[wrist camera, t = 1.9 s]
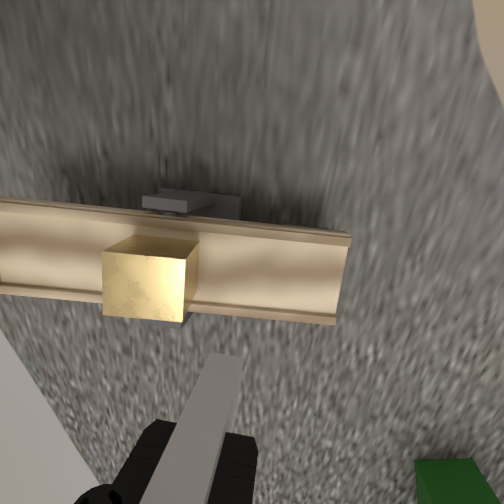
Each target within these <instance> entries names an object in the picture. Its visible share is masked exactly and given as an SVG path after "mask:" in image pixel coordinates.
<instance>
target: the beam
mask: <svg viewBox="0 0 504 504" xmlns="http://www.w3.org/2000/svg"><path fill="white" fill-rule="evenodd" d="M178 213H179V212H175V211H167V210H165V211H163V213H161V212H152V211H142V210H132V209H123V208H113V207H103V206H94V205H84V204H74V203H65V202H55V201H45V200H36V199H26V198H16V197H7V196H0V294H10V295H21V296H31V297H42V298H52V299H63V300H73V301H84V302H94V303H103V296H102V256H101V251H103V250H105V249H107V248H109V247H110V246H112V245H114V244H116V243H118V242H120V241H122V240H124V239H126V238H128V237H130V236H131V235H133V234H134V235H144V236H154V237H164V238H173V239H183V240H193V241H200V243H199V259H198V276H197V292H196V294H195V296H194V298H193V301H192V303H191V305H190V307H189V309H188V311H189V312H200V313H210V314H221V315H231V316H242V317H252V318H263V319H273V320H284V321H294V322H305V323H315V324H326V325H335V324H336V319H337V317H336V316H335V313H336V307H337V302H338V297H339V292H340V287H341V281H342V276H343V271H344V266H345V261H346V255H347V250H348V247H351V242H352V238H351V237H350V234H348V233H347V232H344V231H335V230H330V229H328V228H318V227H308V226H299V225H289V224H283V225H277V224H267V223H258V222H248V221H238V220H229V219H219V218H209V217H200V216H190V215H180V214H178Z"/></svg>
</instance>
